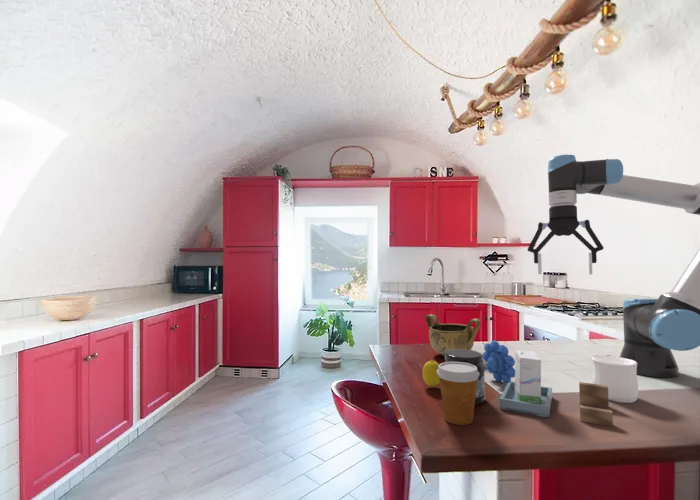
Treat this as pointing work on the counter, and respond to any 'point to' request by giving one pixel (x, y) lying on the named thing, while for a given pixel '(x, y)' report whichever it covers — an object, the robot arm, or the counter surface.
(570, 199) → the robot arm
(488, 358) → the grapes
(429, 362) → the lemon
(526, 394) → the ink box
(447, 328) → the ceramic bowl
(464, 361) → the supplement container
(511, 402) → the tray
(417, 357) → the counter surface
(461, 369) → the disposable coffee cup
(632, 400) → the cup
